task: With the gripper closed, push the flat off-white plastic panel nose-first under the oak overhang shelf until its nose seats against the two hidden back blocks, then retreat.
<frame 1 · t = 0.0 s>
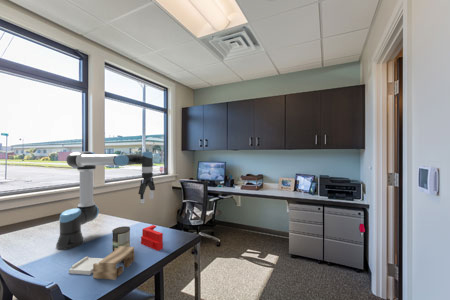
hand: (147, 201, 146), 28 cm above the table, fingers open, 13 cm apart
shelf: (115, 268, 108), on the table
panel: (88, 268, 110), on the table
bracket: (155, 244, 137), on the table
coffee can: (121, 251, 128), on the table
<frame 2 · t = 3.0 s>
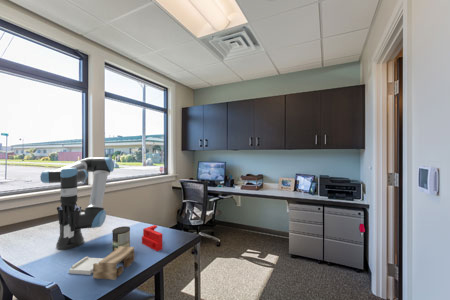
hand: (68, 236, 111), 16 cm above the table, fingers open, 2 cm apart
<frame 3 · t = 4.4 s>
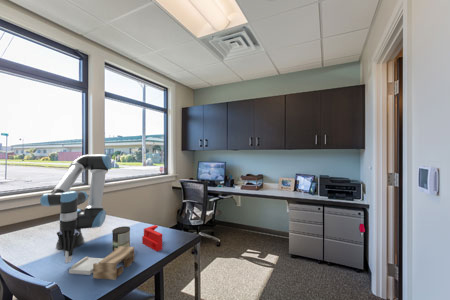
hand: (68, 261, 111), 3 cm above the table, fingers closed
nothing on the table moved.
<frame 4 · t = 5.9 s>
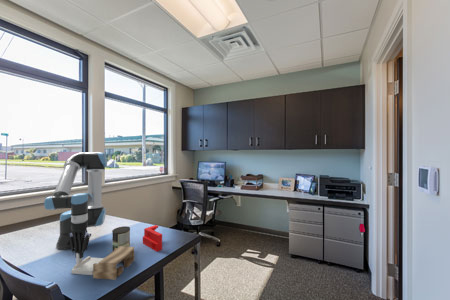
hand: (79, 263, 110), 2 cm above the table, fingers closed
panel: (90, 268, 110), on the table, touching gripper
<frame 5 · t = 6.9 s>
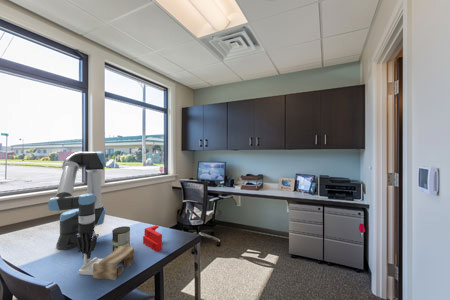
hand: (86, 264, 110), 2 cm above the table, fingers closed
panel: (97, 269, 109), on the table, touching gripper
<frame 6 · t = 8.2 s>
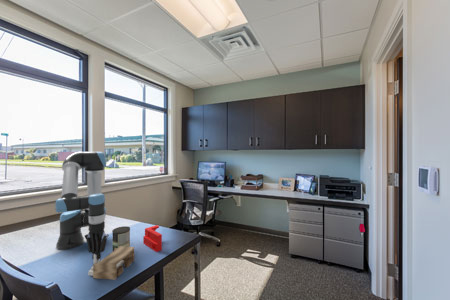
hand: (96, 264, 109), 2 cm above the table, fingers closed
panel: (107, 270, 108), on the table, touching gripper
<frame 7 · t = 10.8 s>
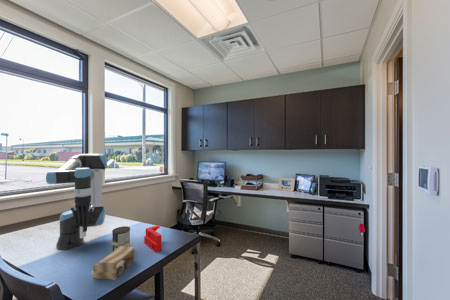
hand: (83, 237, 111), 16 cm above the table, fingers closed
panel: (110, 270, 108), on the table
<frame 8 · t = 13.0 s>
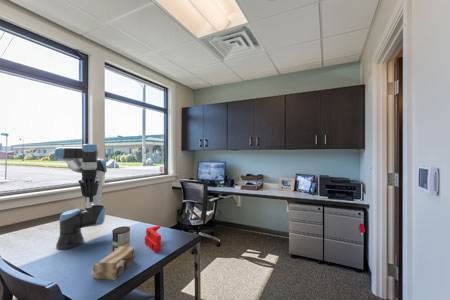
hand: (89, 207, 121), 30 cm above the table, fingers closed
at the end: panel 0.5 cm from the target spot on the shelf, point -0.5 cm above the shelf's base; panel tilted 0°; panel touching table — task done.
